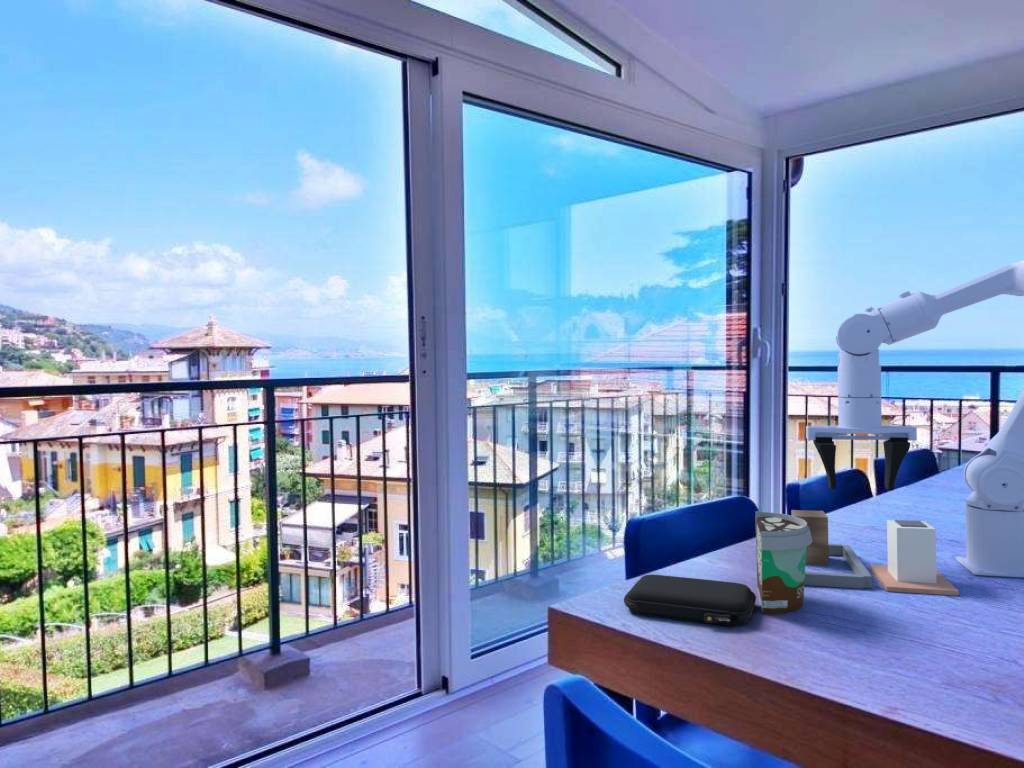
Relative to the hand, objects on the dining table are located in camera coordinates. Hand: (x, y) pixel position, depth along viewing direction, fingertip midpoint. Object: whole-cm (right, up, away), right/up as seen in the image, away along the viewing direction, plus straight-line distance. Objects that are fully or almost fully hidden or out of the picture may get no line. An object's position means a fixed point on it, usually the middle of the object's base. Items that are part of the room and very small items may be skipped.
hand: (860, 488), depth 101 cm
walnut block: (-7, -11, 0) cm, 13 cm away
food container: (-18, -12, -17) cm, 28 cm away
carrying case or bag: (-30, -12, -19) cm, 38 cm away
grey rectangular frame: (-9, -11, -4) cm, 14 cm away
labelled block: (+1, -10, -11) cm, 15 cm away
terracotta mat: (+1, -11, -11) cm, 15 cm away
